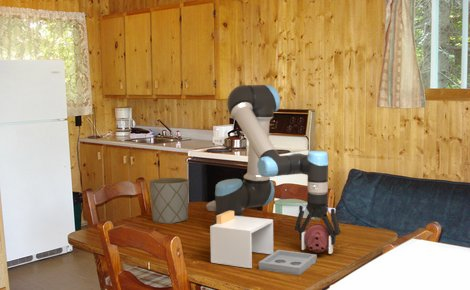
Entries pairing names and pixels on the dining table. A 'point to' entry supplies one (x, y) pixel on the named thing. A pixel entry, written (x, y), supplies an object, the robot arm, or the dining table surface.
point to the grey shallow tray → (288, 262)
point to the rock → (213, 206)
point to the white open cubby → (240, 239)
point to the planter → (169, 199)
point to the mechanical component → (317, 238)
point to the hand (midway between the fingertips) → (317, 250)
